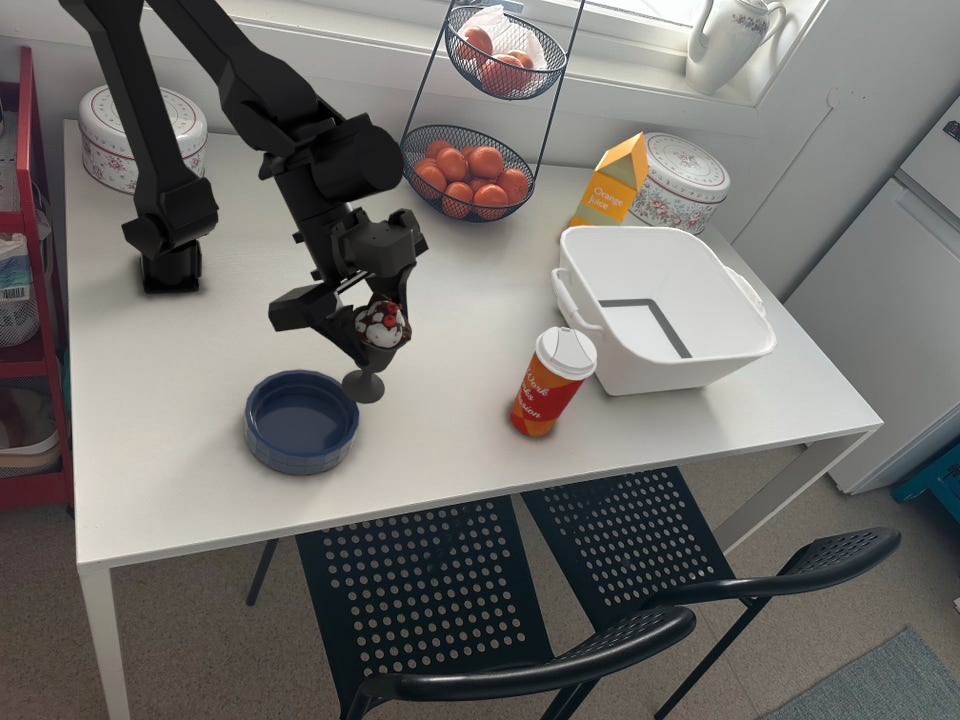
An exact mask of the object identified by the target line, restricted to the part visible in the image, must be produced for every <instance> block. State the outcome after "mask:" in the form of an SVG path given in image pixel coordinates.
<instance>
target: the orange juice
mask: <svg viewBox="0 0 960 720" xmlns="http://www.w3.org/2000/svg"><path fill="white" fill-rule="evenodd" d="M649 172H650V169H649V160H648V154H647V149H646V141H645V136H644V130H642V131H641V132H640V133H638V134H635V135H634V136H632V137H630V138H628V139H626V140H625V141H623V142H621V143H619V144H617V145H616V146H614V147H612V148H609V149H608V150H606V152H605V153H604V154H603V157H602V158H601V160H600V161H599V163H598V164H597V166H596V167H595V168H594V171H593V173H592V176H591V177H590V179H589V181H588V184H587V187H586V189H585V190H584V193H583V195H582V197H581V199H580V201H579V203H578V205H577V207H576V209H575V211H574V214H573V216H572V218H571V221H570V223H569V225H568V227H567V229H568V228H570V227H575V226H622V223H623V221H624V220H625V219H624V218H625V217H626V216H627V214H628V211H629V209H630V208H631V206H632V203H634V201H635V199H636V197H637V195H638V193H639V192H640V190H641V188H642V187H643V185H644V183H645V181H646V179H647V176H648V175H649Z"/></svg>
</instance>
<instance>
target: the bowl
mask: <svg viewBox="0 0 960 720" xmlns="http://www.w3.org/2000/svg"><path fill="white" fill-rule="evenodd" d="M341 385H342V382H340V381H339V380H337V379H336V378H334V377H333V376H331V375H328V374H325V373H322V372H321V371H317V370H310V369H301V368H298V369H289V370H282V371H279V372H277V373H274V374H270V375H269V376H266V377H265V378H264V379H262V380H261V381H259V382H258V383H257V384H256V385H255V386H254V388H253V389H252V391H251V392H250V394H249V395H248V396H247V398H246V403H245V409H244V415H243V416H244V417H243V429H242V430H243V435H244V438H245V443H246V445H247V447H248V448H249V450H250V451H251V452H252V454H253V455H254V457H255V458H257V459H258V460H259V461H261V462H262V463H263V464H264V465H266V466H267V467H269V468H271V469H274V470H277V471H279V472H282V473H284V474H292V475H293V474H294V475H302V476H303V475H304V476H305V475H311V474H318V473H322V472H324V471H327V470H329V469H331V468H333V467H334V466H337V465H338V464H339V463H341V462H342V461H343V460H344V458H346V457H347V456H348V455H349V453H350V451H351V449H352V447H353V445H354V443H355V439H356V436H357V433H358V428H359V425H360V409H359V406H358V403H357V402H355V401H353V400H351V399H349V398H348V397H347V396H346V395H345V393H344V392H343V390H342V386H341Z"/></svg>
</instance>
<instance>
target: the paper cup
mask: <svg viewBox="0 0 960 720" xmlns="http://www.w3.org/2000/svg"><path fill="white" fill-rule="evenodd" d="M596 359H597V352H596V349H595V346H594V344H593V343H592V342H591V340H590V339H589V338H588V337H587V336H585V335H584V334H583V333H581V332H579V331H578V330H575V329H573V330H570V328H569V327H565V326H560V327H558V326H552V327H549V328H548V329H547V330H545V331H544V332H543V333H540V334H539V336H538V337H537V338H536V339H535V344H534V352H533V354H532V357H531V359H530V362H529V364H528V366H527V369H526V371H525V373H524V376H523V378H522V381H521V383H520V386H519V389H518V391H517V393H516V396H515V398H514V401H513V404H512V407H511V410H510V420H511V423H512V425H513V426H514V427H515V428H516V429H517V430H518V432H520V433H522V434H524V435H526V436H529V437H542V436H544V435H545V434H547V433H548V432H549V431H550V430H551V428H552V427H554V424H555V423H556V422H557V421H558V419H559V418H560V416H561V415H562V414H563V412H564V411H565V409H566V408H567V407H568V405H569V403H570V402H571V401H572V399H573V398H574V397H575V395H576V393H577V392H578V391H579V389H580V388H581V387H582V385H583V383H584V382H585V380H586V379H588V377H590V376H591V375H593V374H594V371H595V369H596V365H597V361H596Z"/></svg>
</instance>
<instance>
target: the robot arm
mask: <svg viewBox="0 0 960 720" xmlns="http://www.w3.org/2000/svg"><path fill="white" fill-rule="evenodd" d="M57 1H58V3H59V5H60V6H61V8H62V9H63V10H64V11H65V12H66V13H67V14H68V15H69V16H70V17H71V18H72V19H73V20H74V21H76V22H77V24H79V26H81V27H82V28H83V29H84V30H85V31H86V32H87V33H88V37H89V39H90V41H91V44H92V47H93V50H94V52H95V56H96V58H97V60H98V64H99V66H100V68H101V72H102V74H103V77H104V80H105V83H106V85H107V88H108V91H109V93H110V97H111V98H112V101H113V104H114V107H115V110H116V113H117V115H118V119H119V121H120V123H121V126H122V129H123V132H124V135H125V137H126V140H127V143H128V146H129V149H130V151H131V154H132V156H133V159H134V162H135V165H136V168H137V171H138V174H137V178H136V183H135V187H134V192H133V197H132V200H133V205H134V207H135V212H136V216H137V218H134V219H132V220H128V221H126V222H124V223H122V224H121V225H120V227H121V230H122V233H123V237H124V239H125V241H126V242H127V243H128V244H129V245H131V246H132V247H133V248H135V250H137V251H138V252H140V256H139V258H138V259H139V268H140V275H141V283H142V289H143V292H144V293H146V294H160V293H182V292H197V291H199V290H200V282H199V281H200V280H199V278H202V276H203V252H202V247H201V242H200V240H199V239H200V238H202V237H206V236H208V235H210V233H211V232H212V231H214V230H215V228H216V226H217V224H218V223H219V211H220V206H219V204H218V203H217V201H216V199H215V196H214V193H213V188H212V183H211V181H210V180H209V179H208V178H207V177H206V176H201V177H200V176H199V175H198V174H197V173H196V172H195V171H194V170H193V169H192V168H190V167H189V166H188V165H187V164H186V162H185V160H184V157H183V154H182V151H181V148H180V145H179V142H178V138H177V136H176V133H175V129H174V126H173V123H172V121H171V117H170V114H169V111H168V107H167V105H166V102H165V99H164V96H163V93H162V90H161V86H160V83H159V80H158V77H157V75H156V71H155V69H154V65H153V62H152V59H151V56H150V53H149V49H148V47H147V44H146V41H145V38H144V35H143V32H142V28H141V20H142V16H143V12H144V11H143V10H144V7H145V3H146V4H147V5H148V6H149V8H151V9H152V11H153V12H154V13H155V14H156V15H157V16H158V17H159V19H160V20H161V21H162V23H164V24H165V26H166V27H167V28H168V29H169V30H170V32H171V33H172V34H173V35H174V36H175V37H176V38H177V39H178V41H179V42H180V43H181V45H182V46H183V47H184V48H185V49H186V50H187V51H188V52H189V53H190V55H191V56H192V58H194V59H195V61H196V62H197V63H198V64H199V65H200V66H201V67H202V69H203V70H204V71H205V72H206V74H207V75H208V76H209V77H210V78H211V80H212V81H213V83H214V84H215V85H216V87H217V91H218V97H219V104H220V109H221V111H222V113H223V114H224V115H225V117H226V118H227V120H228V121H229V123H230V125H232V127H233V128H234V130H235V131H236V133H237V134H238V136H239V138H241V140H242V141H243V142H244V143H245V144H246V145H247V146H248V147H249V148H250V149H252V150H253V151H255V152H259V151H260V152H263V154H262V155H263V156H262V163H261V166H260V167H259V170H258V174H257V178H258V180H260V181H262V182H263V181H267V180H269V179H271V178H273V180H274V181H275V184H276V185H277V188H278V190H279V192H280V194H281V196H282V198H283V200H284V203H285V204H286V206H287V209H288V211H289V213H290V215H291V217H292V220H293V222H294V224H295V226H296V228H297V230H298V231H296V232H293V233H292V234H291V236H292V238H293V241H294V242H295V244H296V245H298V244H301V243H304V244H305V246H306V249H307V251H308V253H309V256H310V258H311V259H312V261H313V263H314V266H315V267H316V268H315V269H313V270H312V271H310V272H309V273H310V275H311V278H312V280H313V282H319V281H323V282H320V283H313V284H309V285H305V286H300V287H294V288H292V289H291V290H289V291H288V292H285V293H284V294H282V295H281V296H279V297H278V298H276V299H274V300H272V301H271V302H270V303H269V302H268V310H267V318H268V320H269V322H270V323H271V325H272V328H273V330H274V331H275V332H276V333H279V332H287V331H295V330H302V329H307V328H310V329H312V330H313V331H315V332H316V333H318V334H319V335H321V336H322V337H324V338H325V339H327V340H328V341H330V342H331V343H332V344H333V345H335V347H337V348H338V349H339V350H341V351H342V352H343V353H345V355H347V356H348V357H349V358H350V359H351V360H353V362H354V361H355V362H357V363H358V364H359V365H360V366H362V367H365V366H368V365H370V362H369V359H368V355H367V352H366V350H365V348H364V346H363V344H362V341H361V339H360V337H359V335H358V333H357V330H356V328H355V326H354V324H353V322H352V314H353V310H354V309H355V307H354V306H355V305H354V304H352V303H351V304H347V305H344V304H343V302H342V300H341V297H340V295H342V294H343V293H345V292H346V291H348V290H350V289H351V288H352V287H354V286H356V285H357V284H358V283H360V282H362V281H363V280H364V281H365V283H366V285H367V286H368V288H369V289H370V291H371V292H372V293H373V292H375V291H376V292H378V293H380V294H382V295H385V296H386V297H388V298H390V299H391V302H392V303H395V304H396V305H399V303H400V304H402V310H400V312H401V313H402V314H403V315H404V316H405V317H406V318H407V320H408V322H409V311H408V309H409V308H408V295H407V293H408V292H407V290H408V289H407V287H408V285H407V284H408V280H409V278H410V276H411V274H412V271H413V269H414V268H416V267H417V264H418V260H417V258H418V257H419V256H421V255H422V254H424V253H426V252H427V251H429V249H430V248H429V245H428V243H427V240H426V237H425V235H424V233H423V232H422V231H421V226H420V224H419V221H418V218H416V216H415V214H414V212H413V210H412V209H409V208H404V207H402V208H399V209H397V210H395V211H393V212H392V213H390V214H389V216H388V219H383V220H381V221H380V222H372V220H371V219H370V217H369V215H368V213H367V211H366V210H365V209H364V208H363V206H358V207H355V208H354V207H353V204H352V203H353V202H356V201H360V200H362V199H365V198H369V197H372V196H376V195H379V194H382V193H385V192H389V191H392V190H394V189H396V188H397V187H398V186H399V185H400V183H401V182H402V180H403V177H404V173H405V160H404V155H403V151H402V148H401V146H400V144H399V142H398V141H396V140H395V139H394V137H393V136H392V135H391V133H389V132H388V131H387V130H386V129H384V128H383V127H381V126H379V125H374V123H373V122H372V119H371V116H370V113H368V112H363V113H360V114H358V115H356V116H353V117H350V118H346V117H344V116H343V114H342V113H340V112H339V111H337V110H336V108H334V107H333V106H331V104H329V103H328V102H327V101H325V99H323V98H322V97H321V96H320V95H319V94H317V92H316V91H315V89H314V88H313V86H312V84H311V83H309V82H308V81H307V80H306V79H305V78H304V77H303V76H302V75H301V74H300V73H298V72H297V71H296V70H295V69H294V68H293V67H292V66H290V64H289V63H287V62H286V61H285V60H283V59H281V58H279V57H276V56H274V55H272V54H270V53H269V52H265V51H264V50H261V49H260V48H259V47H258V46H257V45H255V44H254V43H253V42H252V41H251V40H250V39H249V37H248V36H247V35H246V34H245V33H244V32H243V31H242V30H241V28H240V27H239V26H238V25H237V24H236V23H235V22H234V20H233V19H232V18H231V17H230V16H229V15H228V13H227V12H226V11H225V9H223V7H222V6H221V5H220V3H218V1H217V0H57ZM397 307H398V308H399V306H397ZM409 323H410V322H409ZM355 362H354V363H355Z"/></svg>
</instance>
